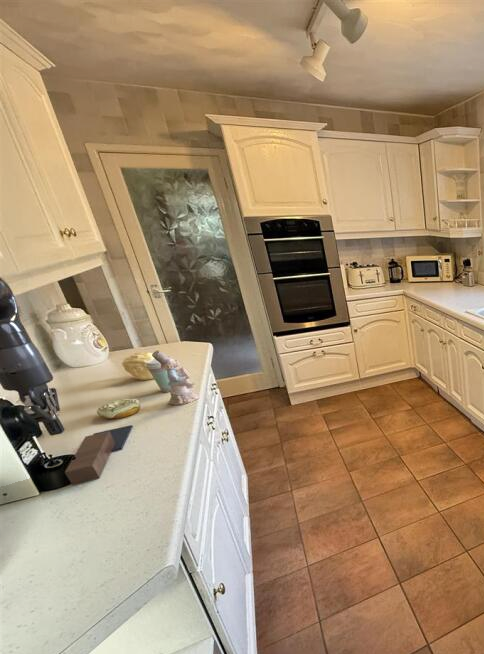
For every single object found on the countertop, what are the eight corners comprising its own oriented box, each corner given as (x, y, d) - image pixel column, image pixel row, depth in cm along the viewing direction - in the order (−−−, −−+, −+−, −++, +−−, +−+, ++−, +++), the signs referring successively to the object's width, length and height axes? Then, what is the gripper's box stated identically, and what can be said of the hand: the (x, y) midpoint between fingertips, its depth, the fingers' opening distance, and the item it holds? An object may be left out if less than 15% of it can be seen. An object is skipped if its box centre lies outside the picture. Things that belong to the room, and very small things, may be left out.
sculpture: (124, 383, 158) (112, 357, 154) (149, 371, 169) (139, 348, 164) (152, 382, 158) (142, 357, 153) (176, 371, 169) (166, 347, 164)
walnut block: (92, 465, 98) (109, 431, 113) (64, 472, 96) (85, 436, 110) (99, 478, 100) (115, 442, 114) (72, 485, 98) (92, 448, 112)
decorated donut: (110, 423, 127) (105, 413, 125) (94, 417, 131) (88, 407, 129) (148, 409, 135) (144, 399, 134) (131, 404, 139) (127, 394, 138)
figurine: (170, 408, 136) (147, 354, 127) (168, 401, 141) (146, 348, 133) (201, 400, 141) (181, 347, 133) (198, 393, 147) (179, 342, 139)
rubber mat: (122, 449, 112) (121, 447, 112) (78, 459, 108) (77, 458, 108) (133, 426, 125) (132, 424, 124) (94, 435, 120) (93, 433, 120)
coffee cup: (176, 383, 156) (164, 355, 151) (190, 386, 153) (178, 357, 148) (151, 392, 149) (138, 362, 144) (166, 395, 146) (153, 365, 141)
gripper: (7, 359, 89) (45, 426, 96) (-23, 378, 79) (23, 451, 86) (53, 353, 93) (87, 417, 100) (31, 370, 83) (70, 440, 90)
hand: (57, 433), depth 93 cm, fingers closed
